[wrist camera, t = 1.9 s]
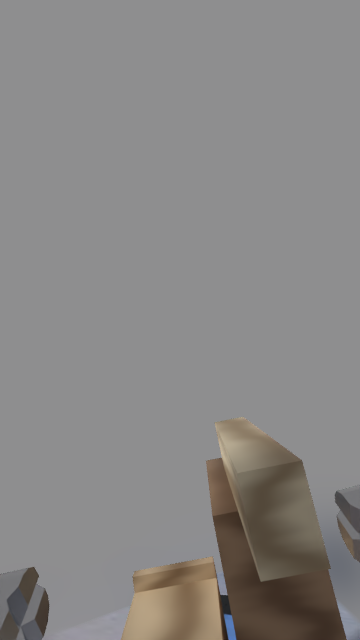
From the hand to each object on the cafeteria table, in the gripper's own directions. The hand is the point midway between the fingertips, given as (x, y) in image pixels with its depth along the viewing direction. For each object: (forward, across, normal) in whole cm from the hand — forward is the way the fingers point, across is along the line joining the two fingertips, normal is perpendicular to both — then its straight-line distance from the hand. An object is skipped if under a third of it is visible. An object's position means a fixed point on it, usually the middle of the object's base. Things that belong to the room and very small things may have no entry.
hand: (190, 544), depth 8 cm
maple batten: (+13, -4, +14) cm, 19 cm away
